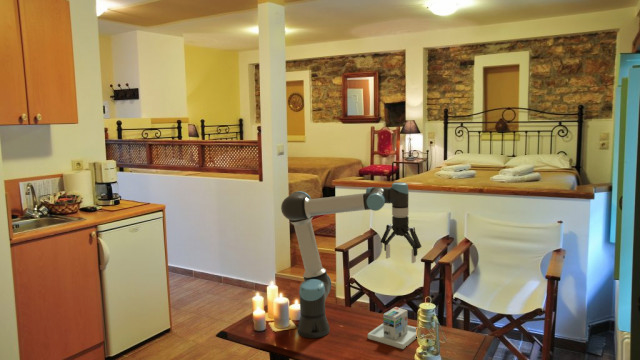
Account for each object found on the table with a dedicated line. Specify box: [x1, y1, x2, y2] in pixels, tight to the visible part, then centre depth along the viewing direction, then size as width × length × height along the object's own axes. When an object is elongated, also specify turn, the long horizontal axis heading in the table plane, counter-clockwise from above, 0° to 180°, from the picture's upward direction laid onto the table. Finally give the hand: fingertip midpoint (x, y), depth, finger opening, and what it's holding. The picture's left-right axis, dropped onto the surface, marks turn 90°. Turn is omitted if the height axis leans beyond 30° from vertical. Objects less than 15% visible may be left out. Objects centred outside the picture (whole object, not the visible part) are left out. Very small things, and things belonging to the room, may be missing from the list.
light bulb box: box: [382, 306, 409, 340], centre depth 226 cm, size 11×7×11 cm, turn 139°
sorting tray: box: [367, 323, 417, 350], centre depth 227 cm, size 18×18×2 cm
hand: (400, 260), depth 235 cm, fingers open, 13 cm apart
